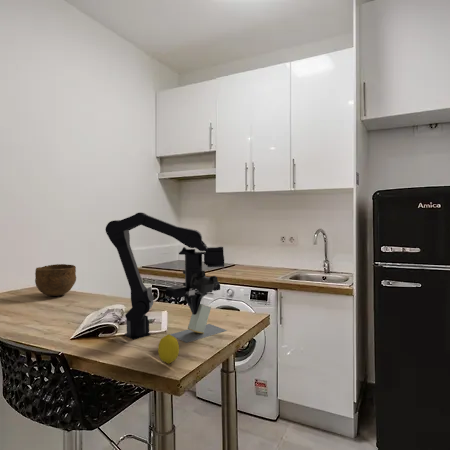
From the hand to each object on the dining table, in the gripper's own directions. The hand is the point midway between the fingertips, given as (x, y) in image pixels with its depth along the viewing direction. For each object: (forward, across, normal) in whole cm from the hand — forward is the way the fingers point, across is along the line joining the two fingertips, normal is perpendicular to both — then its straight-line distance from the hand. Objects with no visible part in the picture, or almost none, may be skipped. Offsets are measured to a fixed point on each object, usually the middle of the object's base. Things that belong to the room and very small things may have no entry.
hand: (194, 314), depth 115 cm
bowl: (+7, -18, +94) cm, 96 cm away
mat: (+7, +2, 0) cm, 7 cm away
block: (+6, 0, 0) cm, 6 cm away
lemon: (+7, -19, -14) cm, 24 cm away
